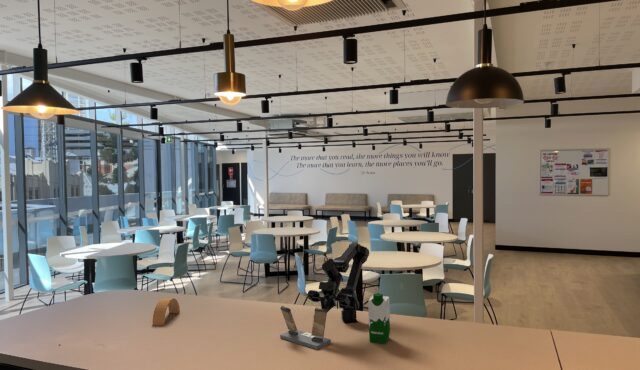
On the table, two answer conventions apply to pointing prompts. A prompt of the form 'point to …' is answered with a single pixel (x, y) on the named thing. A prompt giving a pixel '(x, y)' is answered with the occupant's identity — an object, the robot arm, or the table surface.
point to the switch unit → (305, 339)
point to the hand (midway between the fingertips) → (322, 315)
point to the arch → (164, 310)
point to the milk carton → (379, 318)
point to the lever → (288, 318)
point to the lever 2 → (319, 322)
